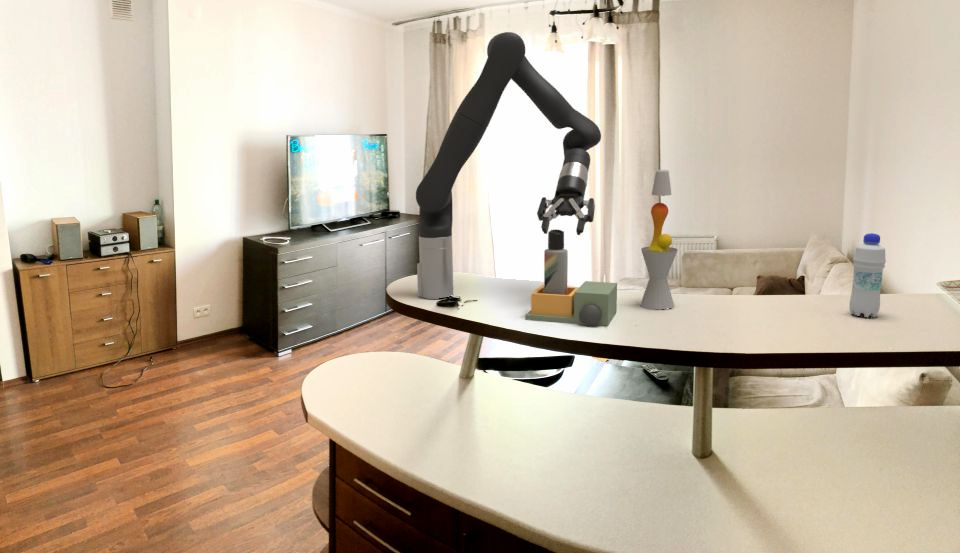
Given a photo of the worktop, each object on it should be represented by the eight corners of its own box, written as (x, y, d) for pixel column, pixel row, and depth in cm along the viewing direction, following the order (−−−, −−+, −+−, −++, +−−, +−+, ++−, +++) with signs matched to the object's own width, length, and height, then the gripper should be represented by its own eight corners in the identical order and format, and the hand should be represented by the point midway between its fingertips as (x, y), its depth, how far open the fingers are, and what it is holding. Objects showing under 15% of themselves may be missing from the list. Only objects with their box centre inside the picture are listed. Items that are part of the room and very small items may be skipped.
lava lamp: (632, 306, 171) (636, 170, 164) (650, 299, 177) (655, 168, 170) (663, 311, 165) (669, 171, 158) (681, 305, 171) (687, 169, 164)
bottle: (874, 312, 160) (883, 231, 156) (883, 319, 154) (892, 235, 150) (844, 311, 162) (852, 231, 158) (851, 318, 156) (860, 235, 152)
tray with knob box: (523, 321, 158) (523, 290, 157) (540, 305, 173) (541, 277, 171) (606, 327, 151) (607, 295, 150) (617, 310, 166) (618, 281, 165)
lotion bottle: (565, 306, 166) (565, 228, 162) (568, 312, 161) (569, 231, 157) (542, 307, 166) (543, 228, 162) (545, 312, 161) (546, 232, 157)
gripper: (543, 173, 172) (531, 222, 164) (597, 174, 167) (587, 224, 159) (548, 192, 178) (536, 240, 170) (600, 193, 173) (591, 242, 165)
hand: (561, 232), depth 164 cm, fingers open, 8 cm apart
